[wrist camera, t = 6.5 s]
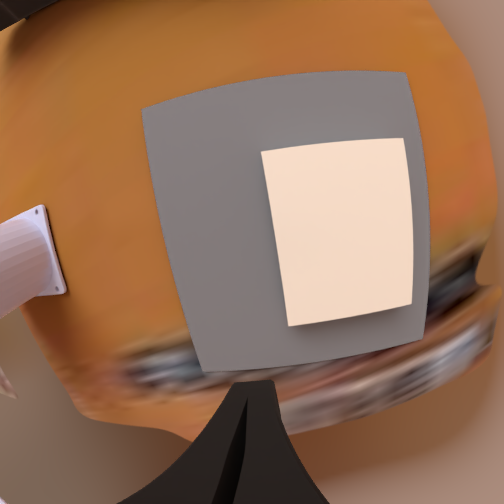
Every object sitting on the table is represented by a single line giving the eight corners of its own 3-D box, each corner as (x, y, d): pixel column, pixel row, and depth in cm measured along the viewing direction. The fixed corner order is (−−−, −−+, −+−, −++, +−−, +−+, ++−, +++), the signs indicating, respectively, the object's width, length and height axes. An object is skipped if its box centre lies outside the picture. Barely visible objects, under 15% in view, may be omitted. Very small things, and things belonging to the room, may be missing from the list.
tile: (288, 326, 16) (411, 304, 15) (260, 151, 13) (403, 138, 12) (287, 308, 18) (397, 289, 17) (262, 155, 16) (387, 142, 15)
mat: (204, 368, 21) (203, 371, 20) (143, 110, 16) (141, 109, 15) (420, 336, 19) (422, 338, 18) (403, 74, 14) (405, 72, 13)
